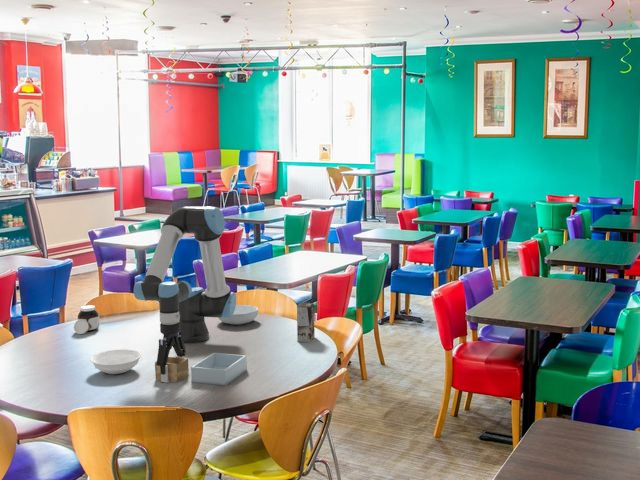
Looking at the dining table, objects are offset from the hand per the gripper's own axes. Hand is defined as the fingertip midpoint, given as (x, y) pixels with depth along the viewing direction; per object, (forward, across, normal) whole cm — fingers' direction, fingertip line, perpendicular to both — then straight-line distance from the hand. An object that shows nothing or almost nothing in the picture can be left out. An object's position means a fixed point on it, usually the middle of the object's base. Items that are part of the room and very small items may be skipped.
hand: (172, 377), depth 297 cm
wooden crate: (0, 0, 0) cm, 0 cm away
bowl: (0, 0, +25) cm, 25 cm away
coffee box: (0, +65, -32) cm, 72 cm away
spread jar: (0, +49, +74) cm, 89 cm away
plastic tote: (0, +7, -17) cm, 18 cm away
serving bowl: (0, +84, +11) cm, 85 cm away
